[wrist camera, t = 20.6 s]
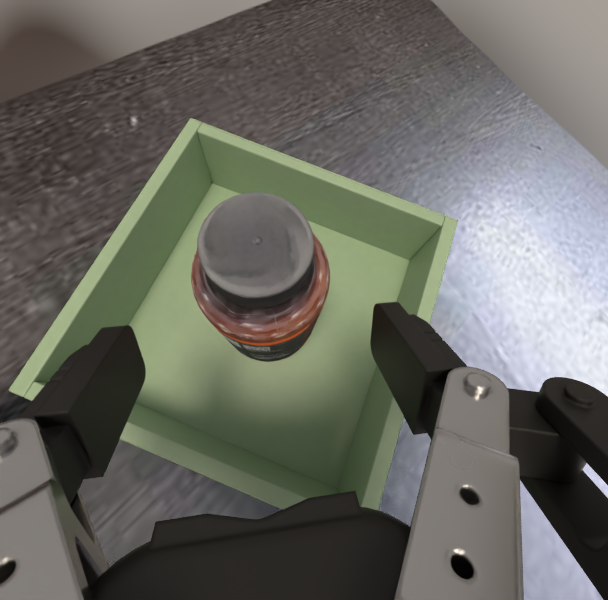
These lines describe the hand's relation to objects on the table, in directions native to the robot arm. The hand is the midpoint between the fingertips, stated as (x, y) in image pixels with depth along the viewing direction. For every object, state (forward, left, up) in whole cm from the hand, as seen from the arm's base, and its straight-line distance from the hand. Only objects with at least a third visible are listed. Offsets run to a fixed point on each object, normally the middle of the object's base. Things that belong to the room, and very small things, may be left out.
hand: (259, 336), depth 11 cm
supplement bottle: (-1, +3, -10) cm, 11 cm away
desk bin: (-1, +3, -11) cm, 11 cm away
